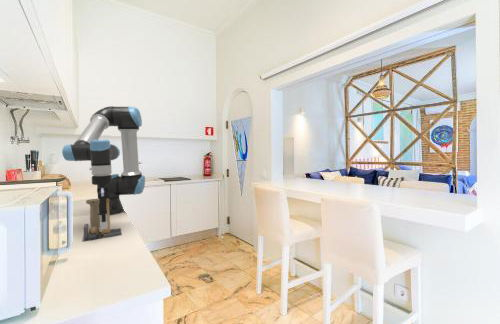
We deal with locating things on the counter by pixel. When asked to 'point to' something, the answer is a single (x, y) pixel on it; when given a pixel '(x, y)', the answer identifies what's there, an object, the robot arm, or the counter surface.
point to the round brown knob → (94, 230)
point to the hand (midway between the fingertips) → (104, 227)
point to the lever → (106, 231)
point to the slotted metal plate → (94, 235)
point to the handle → (94, 212)
